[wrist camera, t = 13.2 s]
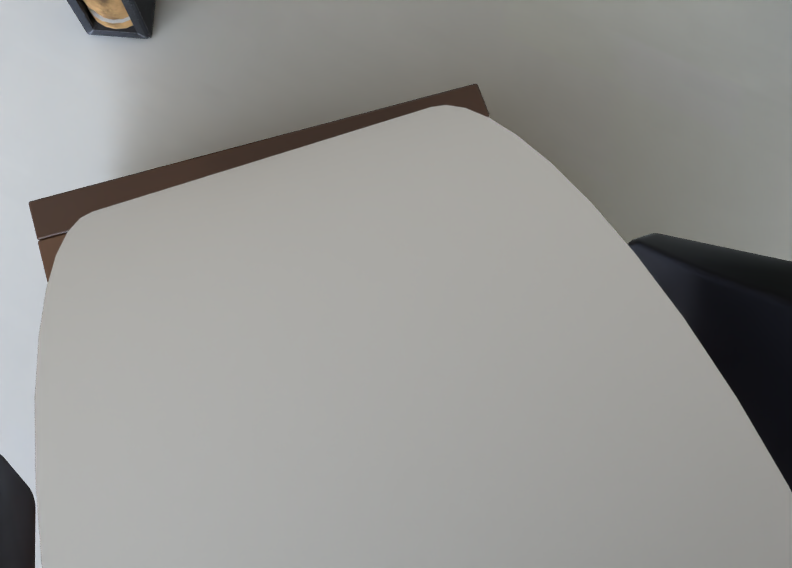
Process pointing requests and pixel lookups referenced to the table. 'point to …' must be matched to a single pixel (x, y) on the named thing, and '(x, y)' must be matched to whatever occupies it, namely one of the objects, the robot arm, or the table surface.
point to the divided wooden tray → (212, 168)
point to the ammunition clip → (115, 17)
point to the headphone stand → (385, 375)
